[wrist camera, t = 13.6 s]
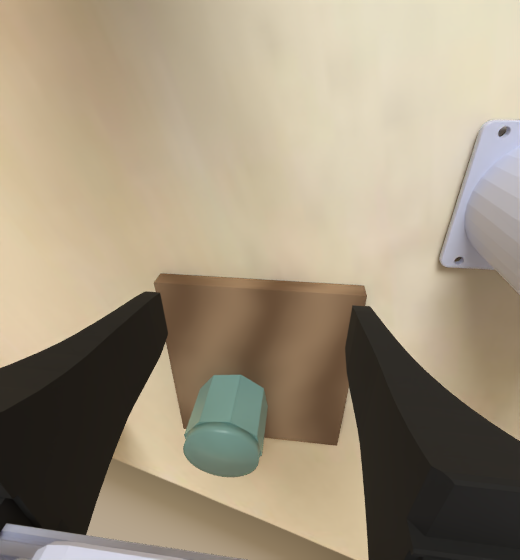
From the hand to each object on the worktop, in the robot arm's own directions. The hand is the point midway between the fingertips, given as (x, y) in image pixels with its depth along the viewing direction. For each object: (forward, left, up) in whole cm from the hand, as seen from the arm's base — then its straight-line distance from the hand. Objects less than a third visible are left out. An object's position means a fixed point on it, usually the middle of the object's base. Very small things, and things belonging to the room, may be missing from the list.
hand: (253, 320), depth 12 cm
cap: (+3, +15, -8) cm, 17 cm away
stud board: (+1, +12, -9) cm, 15 cm away
